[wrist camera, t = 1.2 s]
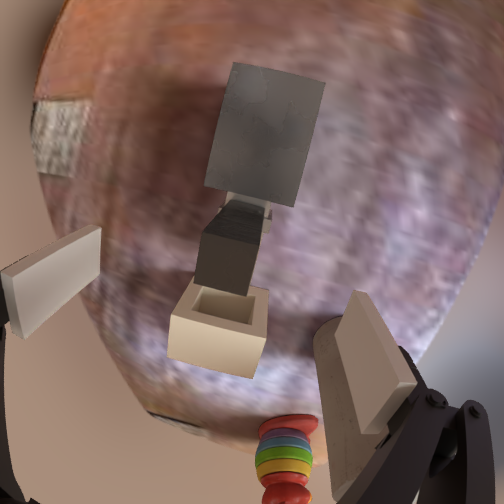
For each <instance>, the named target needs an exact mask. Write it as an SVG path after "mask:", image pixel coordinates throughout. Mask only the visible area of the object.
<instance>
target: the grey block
mask: <svg viewBox="0 0 504 504" xmlns="http://www.w3.org/2000/svg"><path fill="white" fill-rule="evenodd" d="M324 87H325V83H324V82H320V81H317V80H313V79H310V78H306V77H302V76H299V75H295V74H291V73H286V72H282V71H278V70H273V69H269V68H264V67H259V66H254V65H248V64H242V63H236V62H233V65H232V69H231V72H230V76H229V80H228V83H227V87H226V91H225V95H224V99H223V103H222V107H221V111H220V115H219V119H218V123H217V127H216V131H215V136H214V140H213V144H212V149H211V153H210V158H209V162H208V167H207V172H206V176H205V181H204V186H206V187H211V188H215V189H220V190H224V191H228V192H233V193H237V194H241V195H245V196H249V197H254V198H258V199H262V200H266V201H270V202H274V203H278V204H281V205H285V206H289V207H294V203H295V200H296V196H297V192H298V189H299V185H300V181H301V178H302V174H303V170H304V166H305V162H306V159H307V155H308V151H309V147H310V143H311V139H312V135H313V131H314V127H315V123H316V119H317V115H318V111H319V107H320V103H321V99H322V95H323V91H324Z"/></svg>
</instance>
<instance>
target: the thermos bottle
mask: <svg viewBox="0 0 504 504" xmlns="http://www.w3.org/2000/svg"><path fill="white" fill-rule="evenodd" d="M342 317H343V316H342ZM342 317H337V318H334V319H331V320H329V321H327V322H326V323H325V324H323V325H322V326H321V327H320V328H319V329H318V331H317V332H316V334H315V336H314V338H313V351H314V358H315V364H316V370H317V377H318V383H319V390H320V397H321V404H322V412H323V419H324V427H325V435H326V443H327V451H328V460H329V469H330V478H331V489H332V497H333V499H334V500H335V501H336V502H338V501H339V500H340V499H341V497H342V496H343V495H344V494H345V492H346V491H347V490H348V489H349V487H350V486H351V485H352V483H353V482H354V481H355V480H356V478H357V477H358V476H359V474H360V473H361V471H362V470H363V469H364V467H365V466H366V464H367V463H368V462H369V460H370V459H371V457H372V456H373V454H374V453H375V451H376V449H375V447H376V446H377V445H378V444H379V443H380V442H381V441H382V440H383V438H384V437H385V436H386V435H387V434H388V433H389V429H388V426H387V425H386V426H385V427H384V428H383V429H382V430H381V432H380V433H379V434H361V431H360V427H359V423H358V419H357V415H356V411H355V407H354V403H353V399H352V395H351V391H350V388H349V384H348V380H347V377H346V373H345V369H344V366H343V362H342V359H341V355H340V352H339V348H338V345H337V342H336V338H335V333H336V330H337V328H338V326H339V324H340V321H341V319H342ZM418 494H419V491H418V493H417V495H416V497H415V499H414V501H413V503H412V504H414V503H415V502H416V501H417V499H418Z"/></svg>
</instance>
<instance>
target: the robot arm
mask: <svg viewBox="0 0 504 504" xmlns="http://www.w3.org/2000/svg"><path fill="white" fill-rule="evenodd" d="M100 245H101V227H99V226H95V225H91V224H89V225H87V226H85V227H83V228H81V229H79V230H77V231H75V232H73V233H71V234H69V235H67V236H65V237H63V238H61V239H59V240H57V241H55V242H53V243H51V244H49V245H47V246H45V247H44V248H42V249H40V250H38V251H36V252H34V253H32V254H30V255H28V256H25V257H24V258H22V259H20V260H19V261H16V262H15V263H13V264H11V265H10V266H8V267H6V268H4V269H3V270H1V271H0V504H40V503H38V502H37V501H35V500H34V499H32V498H30V501H29V502H26V501H25V499H24V496H23V493H22V491H21V489H20V487H19V485H18V483H17V481H16V479H15V477H14V473H13V470H12V464H11V458H10V452H9V446H8V439H7V430H6V419H5V405H4V353H5V339H6V329H5V326H4V325H5V324H6V323H7V322H8V321H10V325H11V329H12V333H14V334H16V335H17V336H19V337H20V338H22V339H24V340H25V339H26V338H27V337H28V336H29V335H30V334H31V333H32V332H33V331H35V330H36V329H37V328H38V327H39V326H40V325H41V324H42V323H43V322H44V321H46V320H47V319H48V318H49V317H50V316H51V315H52V314H53V313H55V312H56V311H57V310H58V309H59V308H60V307H61V306H62V305H64V304H65V303H66V302H67V301H68V300H70V299H71V298H72V297H73V296H74V295H76V294H77V293H78V292H79V291H80V290H82V289H83V288H84V287H85V286H86V285H88V284H89V283H90V282H91V281H93V280H94V279H95V278H96V277H98V276H99V275H100ZM335 338H336V342H337V345H338V348H339V352H340V355H341V359H342V362H343V366H344V369H345V373H346V377H347V380H348V384H349V388H350V391H351V395H352V399H353V403H354V407H355V411H356V415H357V419H358V423H359V427H360V431H361V434H379V433H380V432H381V430H382V429H383V428H384V427H385V426H386V425H387V426H388V429H389V433H388V434H387V435H386V436H385V437H384V438H383V440H382V441H381V442H380V443H379V444H378V445H377V446H376V447H375V449H376V451H375V453H374V454H373V456H372V457H371V459H370V460H369V462H368V463H367V464H366V466H365V467H364V469H363V470H362V471H361V473H360V474H359V476H358V477H357V478H356V480H355V481H354V482H353V483H352V485H351V486H350V487H349V489H348V490H347V491H346V492H345V494H344V495H343V496H342V497H341V499H340V500H339V501H338V502H337V503H336V504H412V503H413V501H414V499H415V497H416V495H417V493H418V491H419V494H418V499H417V504H495V473H494V460H493V450H492V441H491V434H490V427H489V421H488V416H487V413H486V410H485V409H484V407H483V406H482V405H481V404H480V403H479V402H476V401H473V400H467V401H466V402H465V403H464V404H463V405H462V407H461V408H460V409H458V408H455V407H451V406H448V402H447V400H446V398H445V397H444V396H443V395H442V394H441V393H439V392H438V391H436V390H434V389H428V388H427V386H426V384H425V382H424V380H423V379H422V377H421V375H420V373H419V371H418V370H417V369H416V368H417V367H416V366H415V364H414V363H413V360H412V359H411V357H410V355H409V353H408V352H407V351H406V350H405V349H403V348H402V347H401V346H398V345H397V344H396V342H395V340H394V338H393V336H392V335H391V333H390V331H389V329H388V328H387V326H386V324H385V322H384V321H383V319H382V317H381V316H380V314H379V312H378V311H377V309H376V307H375V306H374V304H373V302H372V301H371V299H370V297H369V296H368V294H367V293H365V292H361V291H356V290H353V293H352V295H351V298H350V300H349V303H348V305H347V307H346V310H345V312H344V314H343V317H342V319H341V321H340V324H339V326H338V328H337V330H336V333H335ZM456 452H457V453H456ZM455 453H456V455H455Z"/></svg>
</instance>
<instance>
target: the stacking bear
mask: <svg viewBox="0 0 504 504" xmlns="http://www.w3.org/2000/svg"><path fill="white" fill-rule="evenodd" d="M317 426H318V419H317V418H316V417H315V416H312V415H289V416H283V417H278V418H274V419H271V420H269V421H266V422H265V423H263V424H262V425H261V426H260V428H259V431H258V433H259V438H260V442H259V445H258V448H257V451H256V455H255V466H256V470H257V477H258V480H259V481H260V482H261V484H262V485H263V486H264V487H265V488H266V490H265V492H264V495H263V498H262V504H308V503H309V502H310V501H311V500H312V496H311V493H310V492H309V491H308V490H307V489H306V488H305V487H304V486H305V485H306V484H307V482H308V478H309V476H310V472H311V467H312V460H313V457H312V451H311V447H310V445H309V444H310V439H309V437H308V436H309V435H310V434H311V433H312V432H313V431H314V430H315V429H316V428H317Z"/></svg>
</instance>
